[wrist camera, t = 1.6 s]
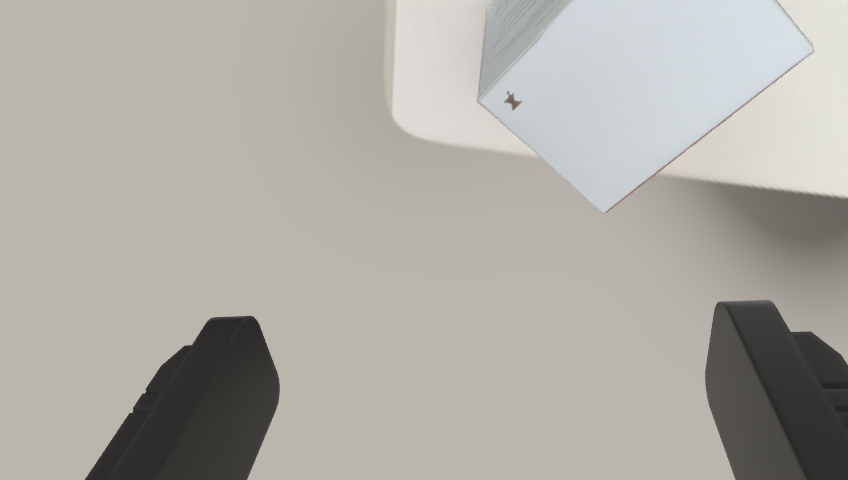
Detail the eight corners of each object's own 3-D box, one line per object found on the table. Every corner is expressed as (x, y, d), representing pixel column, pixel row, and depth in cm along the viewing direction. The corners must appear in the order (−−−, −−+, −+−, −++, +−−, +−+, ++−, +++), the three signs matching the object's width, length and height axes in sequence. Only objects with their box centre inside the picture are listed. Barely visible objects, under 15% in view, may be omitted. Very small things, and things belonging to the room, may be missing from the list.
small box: (569, 94, 32) (600, 221, 21) (483, 10, 30) (469, 102, 19) (702, -28, 28) (823, 51, 17) (612, -133, 26) (685, -118, 15)
